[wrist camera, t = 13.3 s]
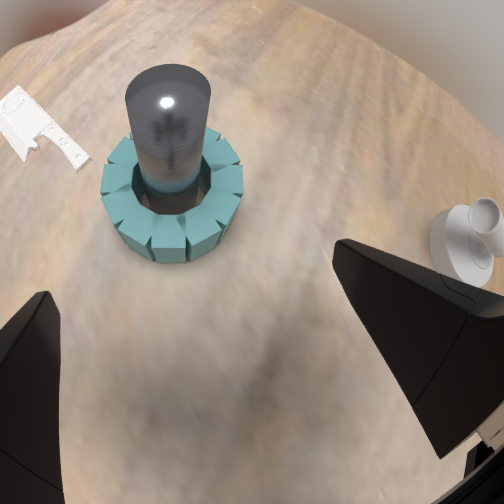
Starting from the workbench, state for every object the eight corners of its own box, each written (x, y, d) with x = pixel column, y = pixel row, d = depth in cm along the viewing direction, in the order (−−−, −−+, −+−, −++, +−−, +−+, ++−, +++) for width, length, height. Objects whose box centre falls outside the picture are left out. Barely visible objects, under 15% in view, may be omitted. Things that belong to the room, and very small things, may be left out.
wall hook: (482, 159, 19) (535, 195, 21) (416, 199, 28) (475, 222, 30) (498, 263, 17) (546, 280, 19) (418, 284, 26) (478, 295, 28)
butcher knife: (50, 204, 21) (45, 199, 20) (-12, 121, 21) (-17, 115, 20) (93, 161, 23) (89, 154, 22) (22, 88, 23) (19, 82, 22)
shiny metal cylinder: (205, 207, 23) (228, 98, 12) (168, 235, 22) (154, 140, 10) (177, 175, 24) (179, 54, 12) (141, 201, 23) (110, 88, 11)
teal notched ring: (252, 186, 25) (266, 158, 20) (194, 286, 22) (196, 276, 18) (157, 136, 24) (155, 102, 20) (93, 224, 21) (75, 202, 17)
